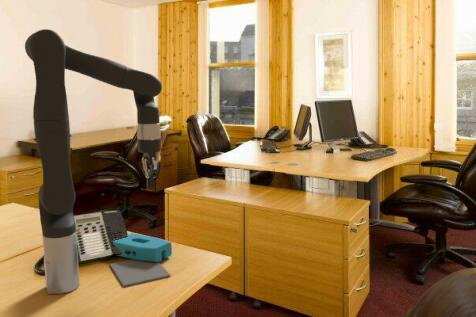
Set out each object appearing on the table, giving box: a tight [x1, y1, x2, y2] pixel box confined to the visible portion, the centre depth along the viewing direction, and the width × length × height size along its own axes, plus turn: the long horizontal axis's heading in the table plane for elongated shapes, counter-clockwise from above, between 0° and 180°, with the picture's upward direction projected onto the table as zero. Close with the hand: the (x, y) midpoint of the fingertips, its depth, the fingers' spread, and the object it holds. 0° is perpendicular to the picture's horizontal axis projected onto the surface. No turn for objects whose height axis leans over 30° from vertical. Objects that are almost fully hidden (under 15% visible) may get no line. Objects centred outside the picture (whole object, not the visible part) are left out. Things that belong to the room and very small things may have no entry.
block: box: [113, 232, 173, 263], centre depth 152 cm, size 12×5×20 cm
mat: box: [109, 259, 171, 288], centre depth 140 cm, size 15×18×1 cm
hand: (150, 188), depth 141 cm, fingers closed
